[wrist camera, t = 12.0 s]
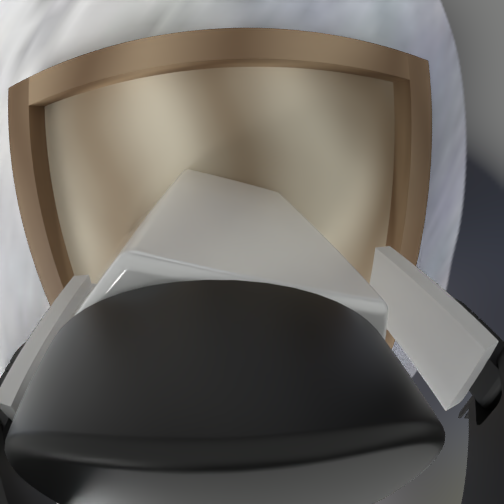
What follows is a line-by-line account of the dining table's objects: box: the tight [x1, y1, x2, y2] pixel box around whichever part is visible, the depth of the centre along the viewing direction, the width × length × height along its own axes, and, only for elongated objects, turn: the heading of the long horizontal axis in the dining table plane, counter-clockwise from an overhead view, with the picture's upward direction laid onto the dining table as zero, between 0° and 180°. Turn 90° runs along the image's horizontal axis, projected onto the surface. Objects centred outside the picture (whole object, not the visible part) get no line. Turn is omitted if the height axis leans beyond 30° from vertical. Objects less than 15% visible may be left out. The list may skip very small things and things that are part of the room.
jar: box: [4, 169, 445, 504], centre depth 8 cm, size 9×8×12 cm
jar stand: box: [8, 28, 432, 350], centre depth 14 cm, size 22×22×3 cm
